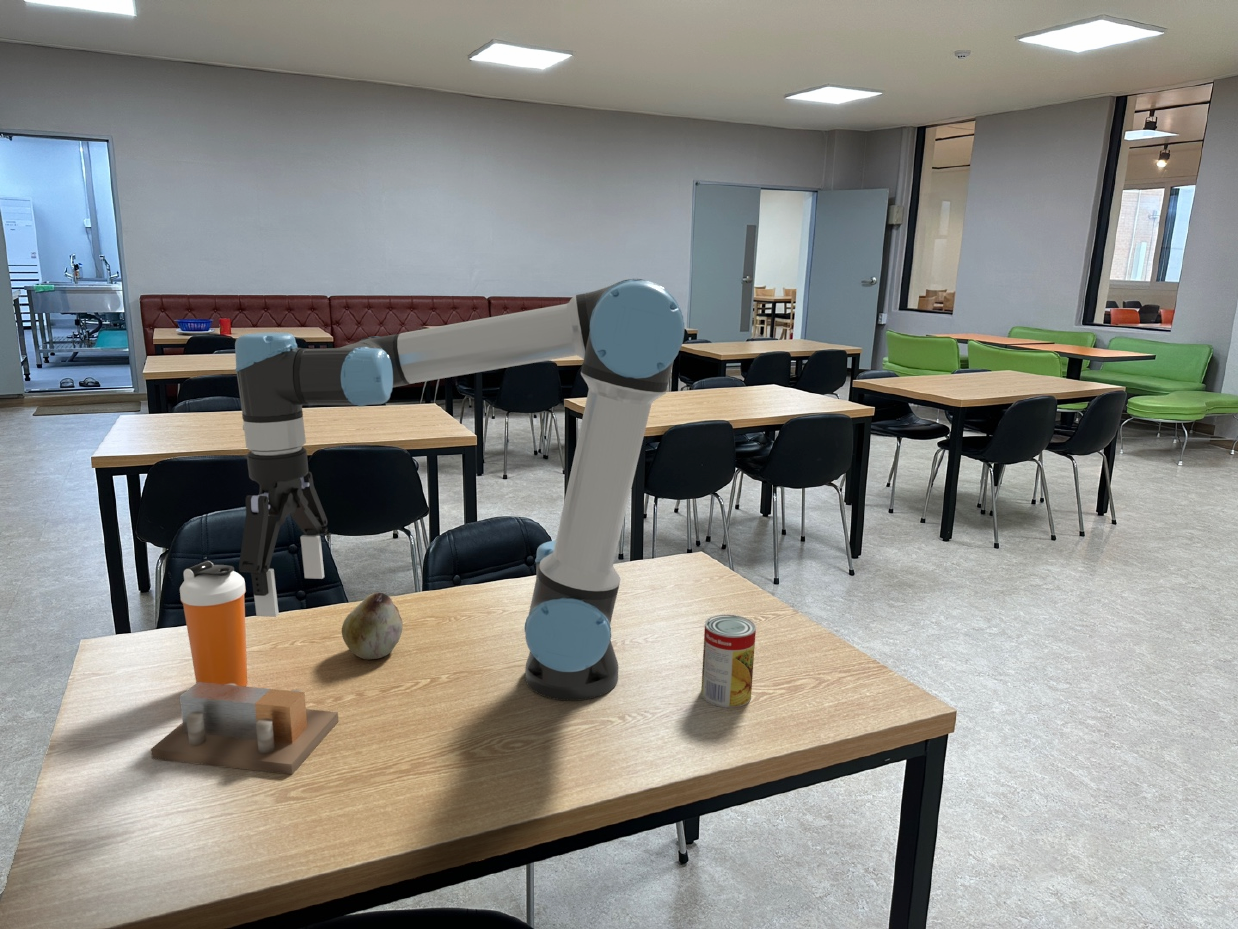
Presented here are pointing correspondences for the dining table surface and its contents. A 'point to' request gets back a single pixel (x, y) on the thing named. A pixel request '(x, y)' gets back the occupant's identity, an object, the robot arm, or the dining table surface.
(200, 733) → the peg rack
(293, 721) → the bar
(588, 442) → the robot arm
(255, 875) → the dining table surface
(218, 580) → the shaker bottle
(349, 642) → the fruit
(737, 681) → the canned food
